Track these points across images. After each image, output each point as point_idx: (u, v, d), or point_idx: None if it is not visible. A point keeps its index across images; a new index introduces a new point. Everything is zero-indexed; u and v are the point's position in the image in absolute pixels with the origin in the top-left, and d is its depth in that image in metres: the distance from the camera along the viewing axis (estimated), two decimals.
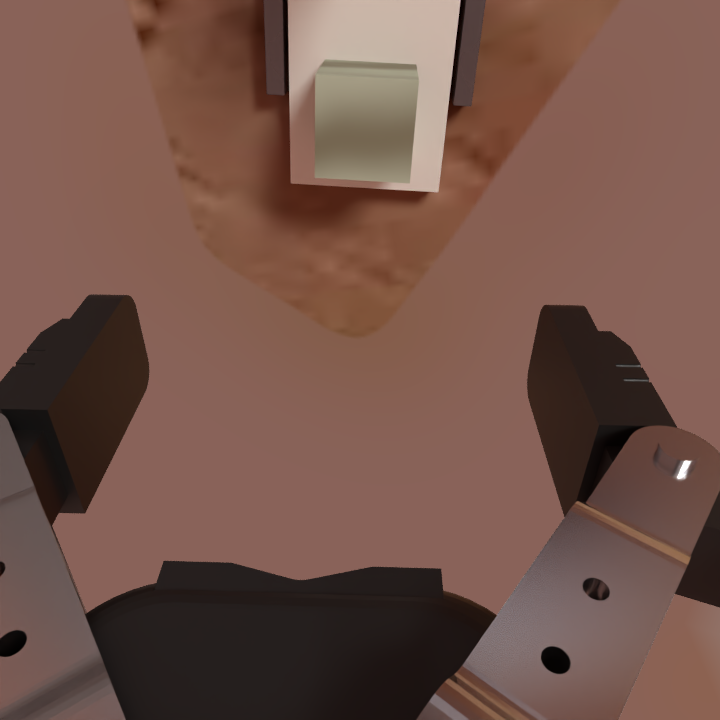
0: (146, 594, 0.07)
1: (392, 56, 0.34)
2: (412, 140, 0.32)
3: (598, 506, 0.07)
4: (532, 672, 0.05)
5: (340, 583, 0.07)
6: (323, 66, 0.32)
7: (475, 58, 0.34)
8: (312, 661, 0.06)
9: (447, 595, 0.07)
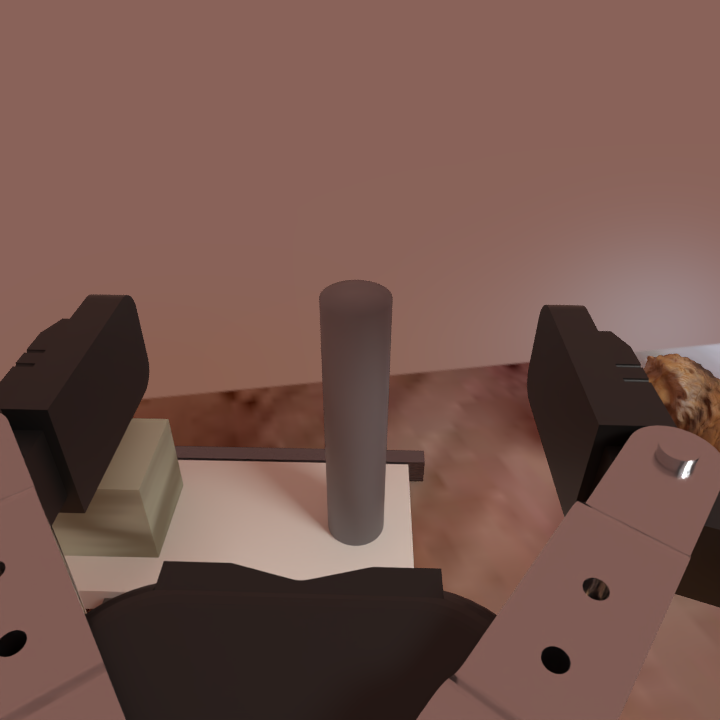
0: (146, 594, 0.07)
1: (172, 536, 0.33)
2: None
3: (598, 506, 0.07)
4: (532, 672, 0.05)
5: (340, 583, 0.07)
6: (175, 455, 0.35)
7: None
8: (312, 661, 0.06)
9: (447, 595, 0.07)
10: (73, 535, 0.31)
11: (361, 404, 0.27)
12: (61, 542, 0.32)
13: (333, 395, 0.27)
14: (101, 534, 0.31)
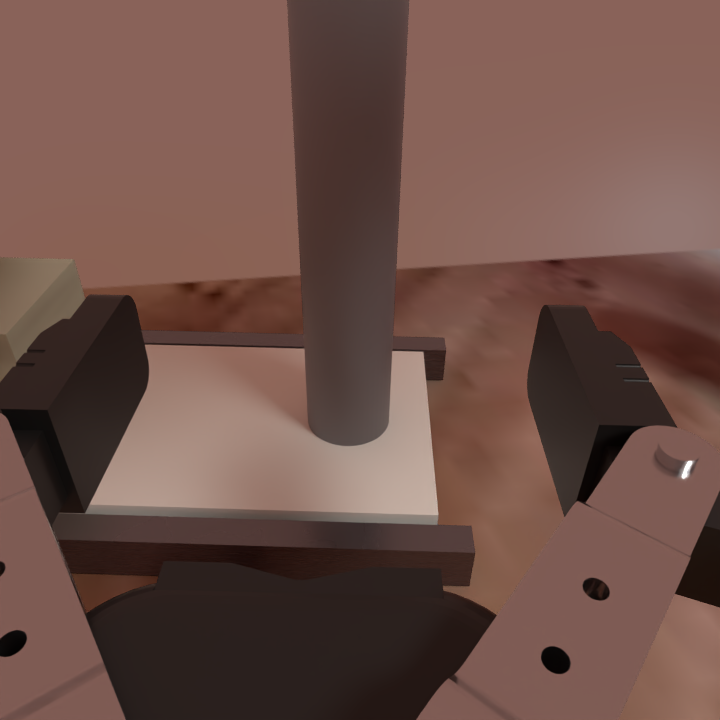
0: (146, 594, 0.07)
1: None
2: None
3: (598, 506, 0.07)
4: (532, 672, 0.05)
5: (339, 583, 0.07)
6: None
7: None
8: (312, 661, 0.06)
9: (447, 595, 0.07)
10: None
11: (356, 178, 0.17)
12: None
13: (311, 165, 0.17)
14: None
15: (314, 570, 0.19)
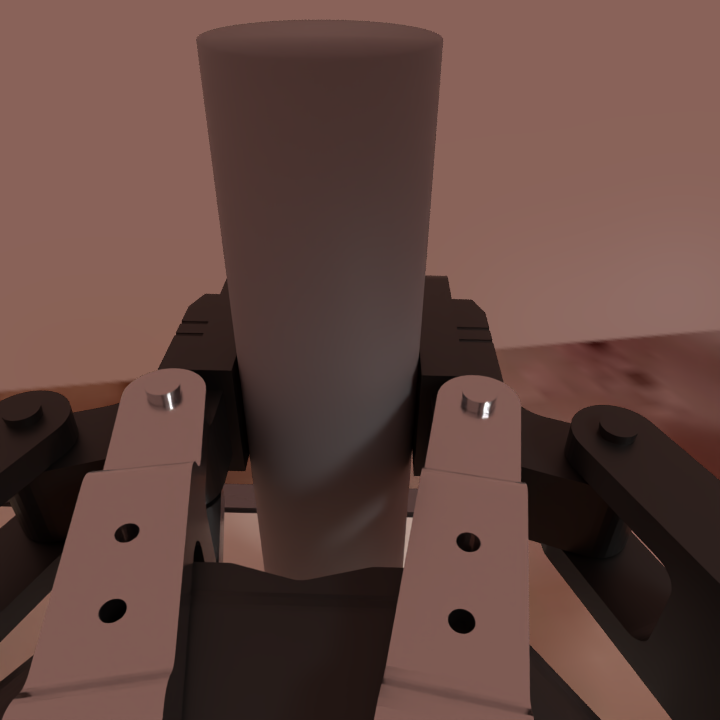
0: None
1: None
2: None
3: (435, 466, 0.08)
4: (447, 642, 0.06)
5: (340, 583, 0.07)
6: None
7: None
8: (312, 661, 0.06)
9: None
10: None
11: (340, 395, 0.09)
12: None
13: (259, 368, 0.09)
14: None
15: None
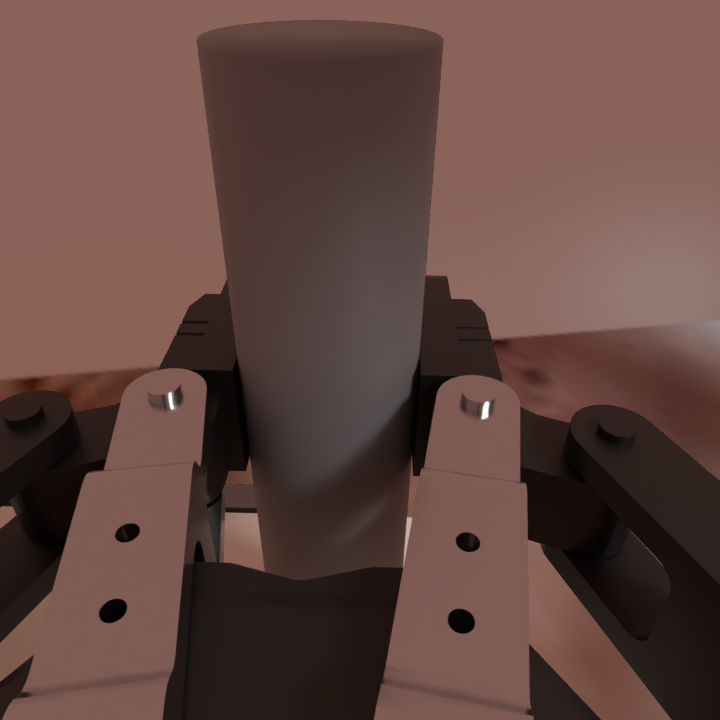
0: None
1: None
2: None
3: (435, 466, 0.08)
4: (446, 641, 0.06)
5: (340, 583, 0.07)
6: None
7: None
8: (312, 661, 0.06)
9: None
10: None
11: (340, 395, 0.09)
12: None
13: (259, 368, 0.09)
14: None
15: None
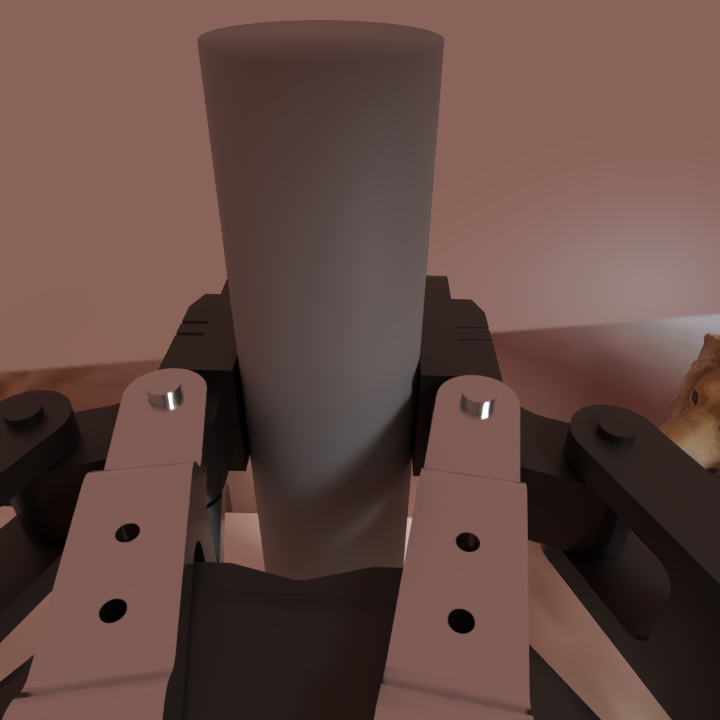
0: None
1: None
2: None
3: (435, 466, 0.08)
4: (446, 642, 0.06)
5: (340, 583, 0.07)
6: None
7: None
8: (312, 661, 0.06)
9: None
10: None
11: (340, 396, 0.09)
12: None
13: (260, 368, 0.09)
14: None
15: None
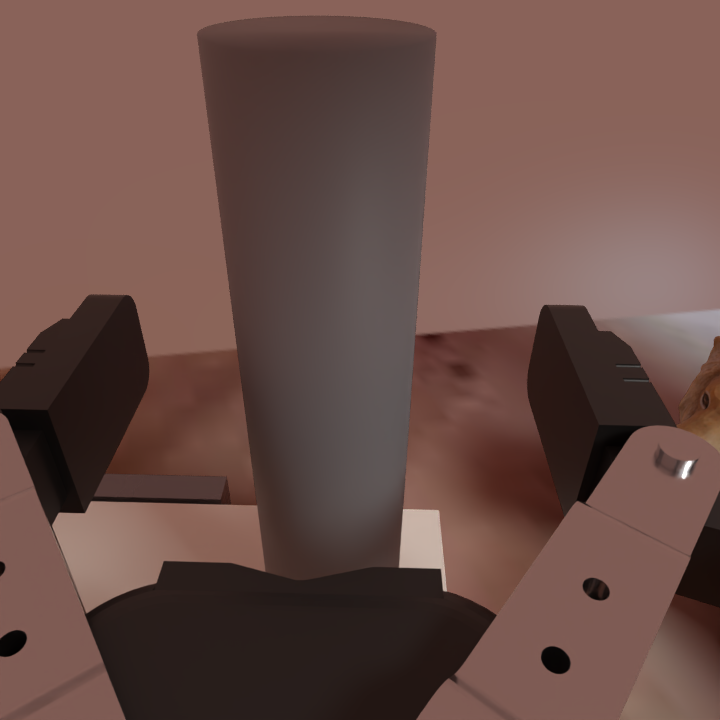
0: (146, 594, 0.07)
1: None
2: None
3: (598, 506, 0.07)
4: (532, 672, 0.05)
5: (340, 583, 0.07)
6: None
7: None
8: (312, 661, 0.06)
9: (447, 595, 0.07)
10: None
11: (337, 382, 0.09)
12: None
13: (258, 355, 0.09)
14: None
15: None
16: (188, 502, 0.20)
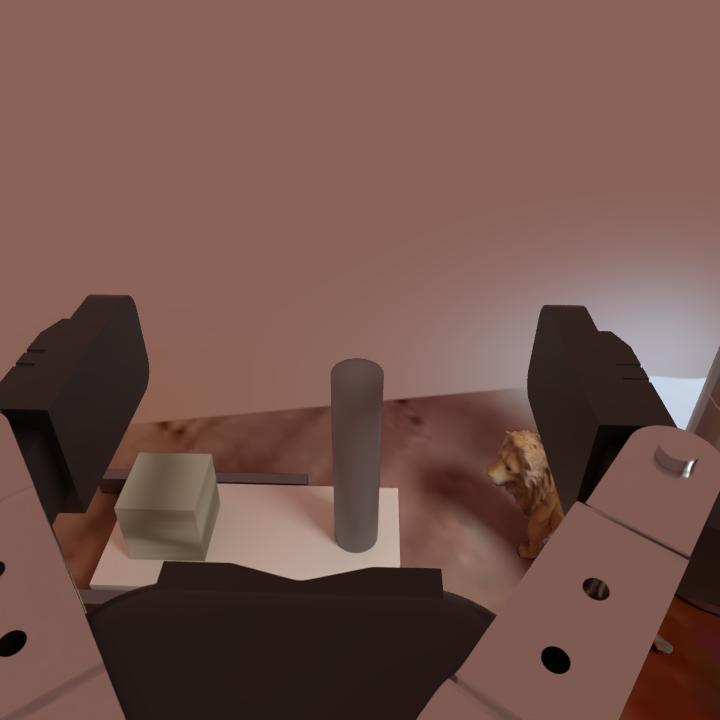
0: (146, 594, 0.07)
1: (214, 545, 0.43)
2: (149, 508, 0.39)
3: (598, 506, 0.07)
4: (532, 672, 0.05)
5: (340, 583, 0.07)
6: (215, 481, 0.44)
7: None
8: (312, 661, 0.06)
9: (447, 595, 0.07)
10: (141, 544, 0.41)
11: (360, 449, 0.37)
12: (131, 549, 0.41)
13: (340, 442, 0.37)
14: (162, 543, 0.41)
15: None
16: (292, 485, 0.48)
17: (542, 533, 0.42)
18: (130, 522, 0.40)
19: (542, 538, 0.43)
